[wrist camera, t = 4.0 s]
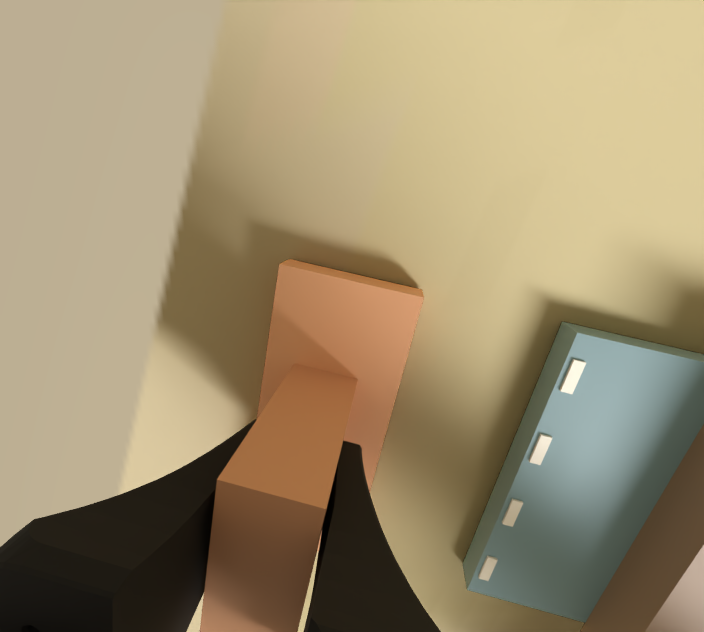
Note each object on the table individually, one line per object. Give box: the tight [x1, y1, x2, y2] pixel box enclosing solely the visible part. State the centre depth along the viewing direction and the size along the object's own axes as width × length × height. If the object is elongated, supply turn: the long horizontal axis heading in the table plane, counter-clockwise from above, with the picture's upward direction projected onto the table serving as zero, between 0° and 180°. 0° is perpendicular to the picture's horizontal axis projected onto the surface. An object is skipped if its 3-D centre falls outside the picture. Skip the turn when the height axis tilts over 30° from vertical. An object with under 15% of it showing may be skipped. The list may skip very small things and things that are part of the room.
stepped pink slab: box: [200, 259, 424, 632], centre depth 12 cm, size 5×12×7 cm, turn 168°
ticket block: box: [463, 322, 704, 632], centre depth 13 cm, size 8×13×3 cm, turn 168°
